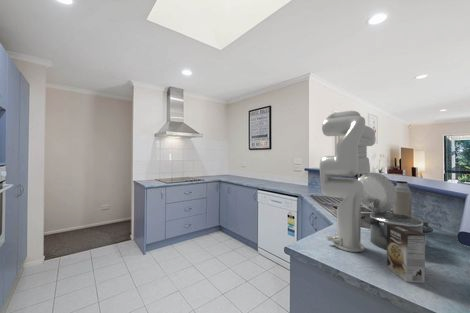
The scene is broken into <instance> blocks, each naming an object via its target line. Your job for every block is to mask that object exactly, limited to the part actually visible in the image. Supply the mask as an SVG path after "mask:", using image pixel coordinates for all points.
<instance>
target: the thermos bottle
mask: <svg viewBox="0 0 470 313" xmlns="http://www.w3.org/2000/svg"><path fill="white" fill-rule="evenodd" d="M394 187H395V189H396V193H397V199H396V202H395V204H394V206H393V214H399V215H405V216H409V217H412V191H411V189H410V187H409V185H408V181H404V180H403V181H402V180H400V181H399V180H397V181H396V186H395V185H394Z"/></svg>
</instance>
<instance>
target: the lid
mask: <svg viewBox="0 0 470 313" xmlns="http://www.w3.org/2000/svg"><path fill="white" fill-rule="evenodd" d="M358 180H359V181H360V182H361V183H362V184H363V193H362V198H361V206H363V207H364V208H365V209H367V210H369V211H371V213H387V211H389V210H391V209H393V208H394V204H395V202H396V199H397V193H396V189H395V184H394V183H393V181H391V180H390V178H388V177H387V176H386V175H383V174H381V173H378V172H370V173H367V174H365V173H364V175H362V176H361V177H360V178H359V179H358Z"/></svg>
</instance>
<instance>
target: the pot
mask: <svg viewBox="0 0 470 313" xmlns="http://www.w3.org/2000/svg"><path fill="white" fill-rule="evenodd" d="M363 222H365V223H366V224H368V225H370V242H371V243H372V245H374V246H376V247H378V248H380V249H382V250H386V251H387V225H404V226H406V227H409V228H411V229H413V230H416V231H418V232H421V233H423V227H428V226H429V223H428V221H426V220H425V221H424V220H421V219H419V218H416V217H412V216H411V217H409V216H405V215H399V214H394V212H393V213H391V212H386V213H373V212H371V213H369V217H364V218H363Z"/></svg>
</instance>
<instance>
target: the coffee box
mask: <svg viewBox="0 0 470 313" xmlns="http://www.w3.org/2000/svg"><path fill="white" fill-rule="evenodd" d="M386 268H387V269H389V270H390V271H391V272H392V273H394V274H395V275H397V276H398V278H401V280H402V281H404V282H405V283H420V284H421V283H423V284H425V283H426V282H425V281H426V280H425V277H426V273H425V272H426V271H425V270H426V234H425V233H423V232H422V233H421V232H418V231H416V230H413V229H411V228H409V227H406V226H404V225H387V250H386Z"/></svg>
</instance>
